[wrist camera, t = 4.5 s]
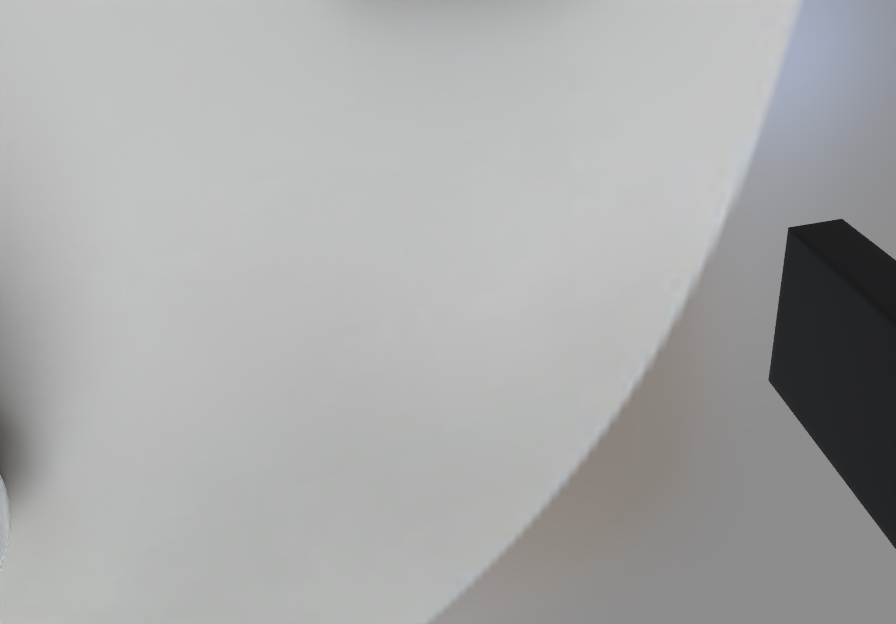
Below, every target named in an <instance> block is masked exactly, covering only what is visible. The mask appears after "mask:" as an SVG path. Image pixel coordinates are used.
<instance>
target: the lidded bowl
mask: <svg viewBox="0 0 896 624" xmlns="http://www.w3.org/2000/svg"><path fill="white" fill-rule="evenodd" d="M9 534H10V511H9V499H8V496H7V492H6V488H5V484H4V482H3V479H2V477H1V475H0V571H1V568H2V565H3V562H4V559H5V555H6V551H7V547H8V543H9Z"/></svg>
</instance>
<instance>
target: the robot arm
mask: <svg viewBox="0 0 896 624" xmlns="http://www.w3.org/2000/svg"><path fill="white" fill-rule="evenodd" d="M769 382H770V383H771V384H772V386H773V387H774V388H775V390H776V391H777V392H778V393H779V395H780V396H781V397H782V399H783V400H784V401H785V403H786V404H787V405H788V407H789V408H790V409H791V411H792V412H793V413H794V415H795V416H796V417H797V419H798V420H799V421H800V422H801V424H802V425H803V427H804V428H805V429H806V431H807V432H808V433H809V435H810V436H811V437H812V439H813V440H814V441H815V443H816V444H817V445H818V446H819V448H820V449H821V451H822V452H823V453H824V454H825V456H826V457H827V458H828V460H829V461H830V462H831V464H832V465H833V466H834V468H835V469H836V470H837V472H838V473H839V474H840V476H841V477H842V478H843V480H844V481H845V482H846V484H847V485H848V486H849V488H850V489H851V490H852V491H853V493H854V494H855V496H856V497H857V498H858V500H859V501H860V502H861V504H862V505H863V506H864V507H865V509H866V510H867V511H868V513H869V514H870V515H871V517H872V518H873V519H874V521H875V522H876V523H877V525H878V526H879V527H880V529H881V530H882V531H883V533H884V534H885V535H886V537H887V538H888V539H889V541H890V542H891V543H892V545H893V546H894V547H895V549H896V260H894V259H893V258H892V257H891V256H889V255H888V254H887V253H885V252H884V251H883V250H881V249H880V248H879V247H878V246H876V245H875V244H874V243H872V242H871V241H869V239H867V238H866V237H865V236H863V235H862V234H861V233H860V232H858V231H857V230H856V229H854V228H853V227H852V226H850V225H849V224H848V223H847V222H845V221H844V220H843V219H838V220H832V221H826V222H820V223H814V224H808V225H802V226H795V227H789V228H788V235H787V244H786V251H785V258H784V266H783V274H782V281H781V290H780V296H779V304H778V312H777V320H776V327H775V335H774V343H773V351H772V358H771V366H770V374H769Z"/></svg>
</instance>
